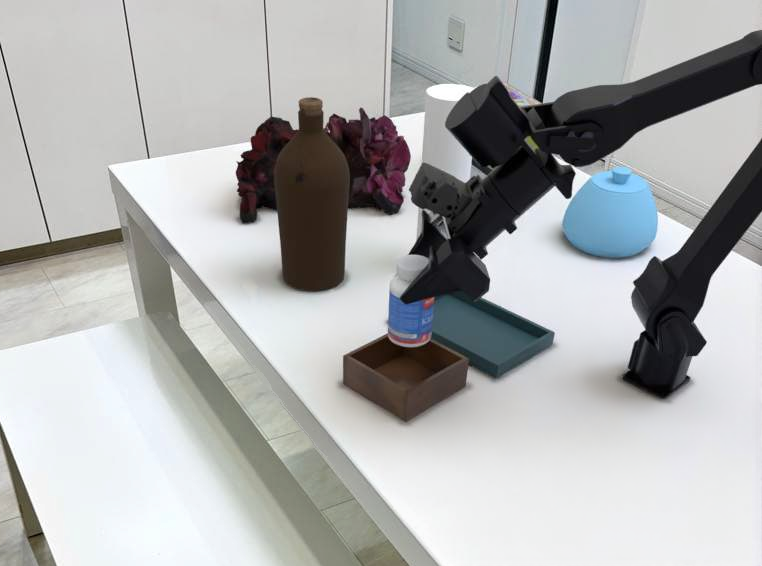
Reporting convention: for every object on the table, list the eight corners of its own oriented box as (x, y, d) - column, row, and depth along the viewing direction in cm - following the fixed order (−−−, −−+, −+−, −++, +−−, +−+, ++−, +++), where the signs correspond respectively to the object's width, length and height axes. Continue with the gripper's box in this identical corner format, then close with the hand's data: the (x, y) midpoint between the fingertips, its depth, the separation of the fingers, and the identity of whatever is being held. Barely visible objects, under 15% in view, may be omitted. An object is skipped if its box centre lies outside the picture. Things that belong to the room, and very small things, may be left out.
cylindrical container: (407, 268, 134) (417, 95, 116) (426, 250, 138) (439, 80, 121) (449, 279, 131) (466, 104, 114) (467, 260, 136) (486, 89, 119)
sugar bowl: (543, 227, 145) (555, 157, 137) (619, 216, 149) (635, 146, 141) (590, 267, 135) (607, 194, 127) (671, 253, 139) (692, 181, 131)
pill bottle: (427, 351, 104) (433, 275, 97) (383, 346, 105) (386, 270, 98) (434, 328, 108) (440, 254, 101) (392, 323, 108) (394, 249, 102)
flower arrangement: (247, 234, 141) (239, 138, 131) (223, 187, 155) (215, 97, 144) (424, 213, 148) (431, 121, 138) (387, 170, 162) (391, 83, 151)
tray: (552, 345, 118) (555, 332, 117) (496, 378, 112) (498, 365, 111) (447, 294, 128) (449, 281, 127) (390, 322, 122) (391, 309, 120)
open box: (465, 386, 111) (469, 358, 108) (405, 422, 105) (407, 393, 102) (402, 352, 116) (404, 324, 113) (342, 383, 111) (342, 355, 108)
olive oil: (355, 290, 129) (359, 111, 111) (285, 297, 127) (278, 117, 109) (339, 257, 136) (340, 85, 118) (273, 264, 134) (264, 90, 116)
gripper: (447, 111, 97) (349, 209, 104) (470, 176, 84) (355, 283, 91) (507, 181, 103) (410, 269, 110) (538, 252, 89) (425, 347, 97)
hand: (400, 289), depth 102 cm, fingers closed on pill bottle, 5 cm apart
